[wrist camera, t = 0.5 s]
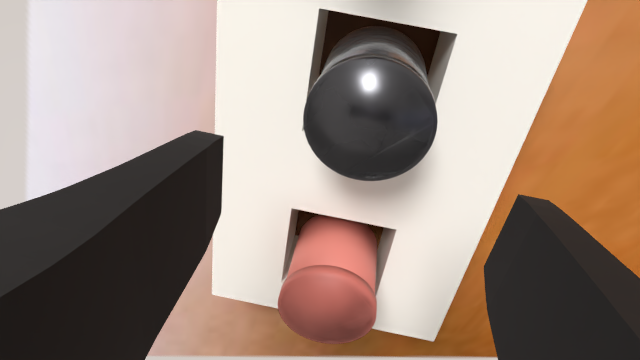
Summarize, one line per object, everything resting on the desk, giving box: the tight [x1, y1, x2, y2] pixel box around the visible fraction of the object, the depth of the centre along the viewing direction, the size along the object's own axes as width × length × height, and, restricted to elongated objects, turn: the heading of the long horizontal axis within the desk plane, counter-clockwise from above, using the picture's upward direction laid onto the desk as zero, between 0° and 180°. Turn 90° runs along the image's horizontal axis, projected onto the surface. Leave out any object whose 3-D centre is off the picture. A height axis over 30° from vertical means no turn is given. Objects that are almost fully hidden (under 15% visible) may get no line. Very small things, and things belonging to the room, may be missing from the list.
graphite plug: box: [303, 26, 438, 181], centre depth 15 cm, size 4×4×4 cm
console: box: [212, 0, 587, 342], centre depth 19 cm, size 11×16×4 cm
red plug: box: [278, 214, 377, 344], centre depth 19 cm, size 4×4×4 cm
